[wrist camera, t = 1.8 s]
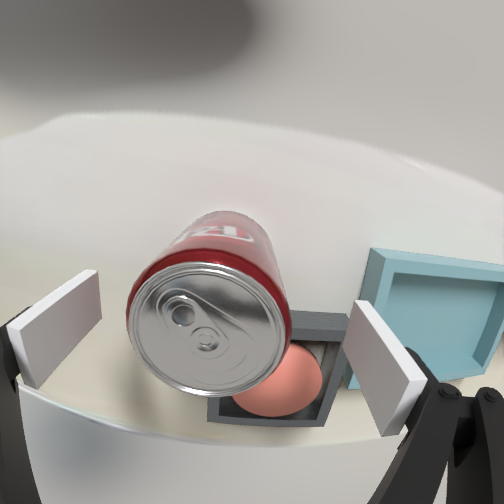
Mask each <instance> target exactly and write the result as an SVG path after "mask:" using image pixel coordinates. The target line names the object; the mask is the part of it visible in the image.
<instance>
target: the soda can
mask: <svg viewBox="0 0 504 504" xmlns="http://www.w3.org/2000/svg"><path fill="white" fill-rule="evenodd" d="M126 326H127V331H128V334H129V338H130V341H131V343H132V345H133V347H134V349H135V351H136V353H137V355H138V357H139V358H140V359H141V361H142V362H143V363H144V365H145V366H146V367H147V369H149V370H150V371H151V372H152V373H153V374H154V375H155V376H156V377H157V378H158V379H160V380H161V381H163V382H164V383H166V384H167V385H169V386H171V387H173V388H175V389H177V390H180V391H182V392H185V393H189V394H192V395H197V396H204V397H224V396H230V395H235V394H238V393H241V392H244V391H247V390H249V389H251V388H252V387H254V386H256V385H258V384H260V383H261V382H263V381H264V380H265V379H267V378H268V377H269V376H270V375H271V374H272V373H274V371H275V370H276V369H277V368H278V366H279V365H280V364H281V362H282V361H283V359H284V357H285V355H286V353H287V350H288V348H289V345H290V341H291V336H292V318H291V313H290V309H289V305H288V302H287V298H286V294H285V291H284V287H283V283H282V280H281V276H280V273H279V269H278V265H277V262H276V258H275V255H274V251H273V248H272V244H271V241H270V239H269V237H268V235H267V233H266V232H265V231H264V230H263V228H262V227H261V226H260V225H259V224H258V223H257V222H255V221H254V220H253V219H251V218H249V217H247V216H246V215H243V214H240V213H237V212H232V211H216V212H212V213H209V214H206V215H204V216H202V217H200V218H198V219H197V220H196V221H194V222H193V223H192V224H191V225H190V226H189V227H188V228H187V229H185V230H184V231H183V232H182V233H181V234H180V235H179V236H178V237H177V238H176V239H175V240H174V241H173V242H172V243H171V244H170V245H169V246H168V247H167V248H166V249H165V250H164V251H163V252H162V253H161V254H160V255H159V256H158V257H157V258H156V259H155V260H154V261H153V262H152V263H151V264H150V265H149V266H148V267H147V268H146V269H145V270H144V271H143V272H142V273H141V275H140V276H139V277H138V279H137V280H136V281H135V283H134V284H133V287H132V289H131V292H130V294H129V296H128V301H127V307H126Z"/></svg>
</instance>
